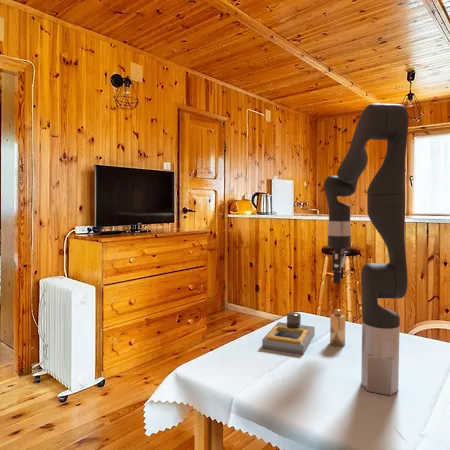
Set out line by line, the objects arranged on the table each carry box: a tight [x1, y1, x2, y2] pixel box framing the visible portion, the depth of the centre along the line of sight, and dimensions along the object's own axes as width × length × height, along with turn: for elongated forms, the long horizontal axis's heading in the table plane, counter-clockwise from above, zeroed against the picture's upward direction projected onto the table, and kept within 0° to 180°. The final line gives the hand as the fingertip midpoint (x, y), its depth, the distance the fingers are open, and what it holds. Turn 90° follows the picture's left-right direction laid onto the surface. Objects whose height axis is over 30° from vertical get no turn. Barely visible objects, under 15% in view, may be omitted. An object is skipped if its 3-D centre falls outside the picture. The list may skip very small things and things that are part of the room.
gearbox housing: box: [261, 311, 316, 355], centre depth 131 cm, size 20×14×8 cm
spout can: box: [329, 308, 346, 347], centre depth 128 cm, size 5×5×12 cm
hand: (338, 280), depth 127 cm, fingers open, 8 cm apart
